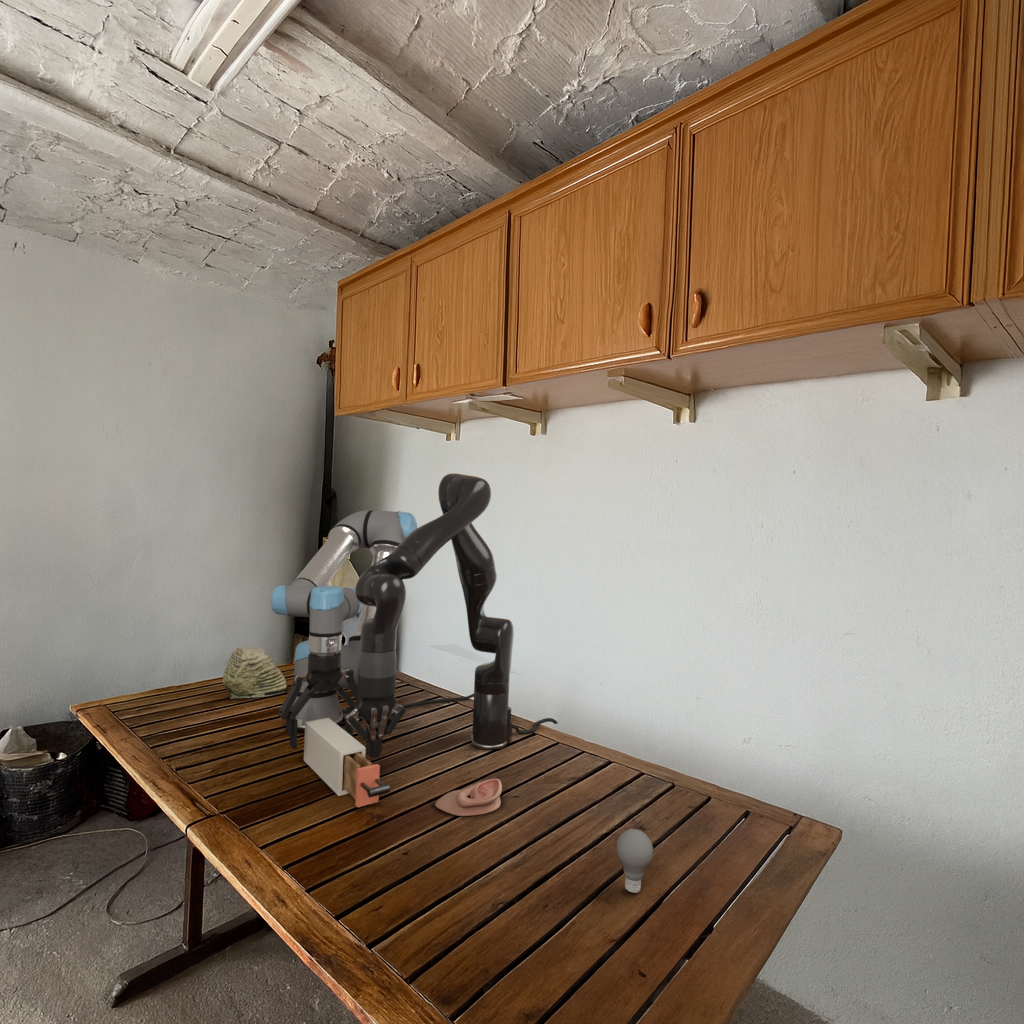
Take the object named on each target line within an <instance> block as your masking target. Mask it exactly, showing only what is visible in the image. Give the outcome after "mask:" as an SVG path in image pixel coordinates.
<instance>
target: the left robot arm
mask: <svg viewBox="0 0 1024 1024" xmlns="http://www.w3.org/2000/svg"><path fill="white" fill-rule="evenodd" d="M417 528H418V522H417V520H416V517H415V515H414V514H413V513H411V512H405V511H400V510H398V511H392V510H391V511H390V510H389V511H388V510H371V509H364V510H359V511H357V512H354V513H352V514H349V515H348V516H346V517H344V518H343V519H341V520H340V521H338V522H337V523H336V524H335V525H334V526H333V527H332V528H331V530H330V531H329V532H328V535H327V540H326V541H325V543H324V544H323V545H322V546H321V547H320V548H319V550H318V551H317V552H316V553H315V555H314V556H313V557H312V558H311V559H310V561H309V562H307V564H306V565H305V567H304V568H303V569H302V570H301V572H300V573H299V574H298V576H296V578H295V579H294V580H293V581H292V582H291V583H290V585H288V584H284V585H278V586H276V587H275V588H274V589H273V591H272V593H271V596H270V606H271V610H272V611H273V613H274V614H276V615H280V616H287V617H299V618H300V617H301V618H309V632H308V639H307V640H304V641H302V642H299V643H298V644H297V645H296V647H295V652H294V653H295V654H294V659H293V661H294V672H293V679H292V685H291V687H290V689H289V690H288V692H287V694H286V697H285V699H284V701H283V703H282V704H281V707H280V708H279V711H278V713H277V716H278V717H279V718H280V719H282V720H285V732H286V733H287V734H288V735H289V746H290V748H292V750H296V749H297V748H298V732H301V733H305V722H308V721H313V720H319V719H324V718H329V719H331V720H332V721H333V722H334V723H336V724H337V725H338V726H340V725H342V723H343V722H344V714H347V713H348V714H350V713H351V712H352V711H353V710H354V709H355V704H356V702H357V699H358V696H357V688H358V663H359V656H360V645H361V628H362V624H363V623H364V622H365V621H366V620H368V619H372V618H374V616H375V612H376V607H373V606H368V605H365V604H363V603H361V602H360V601H359V600H358V599H357V597H356V594H355V588H354V587H341V586H338V585H328V584H329V583H330V581H331V580H332V578H333V577H334V576H335V575H336V573H337V572H338V570H340V568H341V567H342V565H343V564H344V562H345V561H346V560H347V558H348V557H349V556H350V555H352V554H354V553H355V552H357V551H358V550H359V549H366V548H367V549H369V552H370V553H371V555H372V561H371V566H372V565H374V564H375V563H377V562H378V561H380V560H381V559H383V558H384V557H386V556H388V555H389V554H391V553H392V552H393V551H394V550H395V549H396V547H397V546H398V545H399V544H400V543H401V542H402V541H403V540H404V539H405V538H406V537H407V536H408V535H409V534H410V533H411V532H413V531H414V530H415V529H417ZM371 566H370V567H371ZM358 614H359V618H358V622H357V626H356V631H355V633H353V634H351V635H350V636H348V641H347V644H343V622H344V621H348V620H349V619H351V618H352V619H353V618H354V617H355V616H357V615H358ZM346 690H350V691H351V694H352V696H353V698H354V699H353V698H352V697H351V696H350V695H349V693H347V692H346ZM339 696H340V698H342V700H344V701H345V703H346V704H347V705H348V707H345V709H342V706H341V702H340V699H339ZM472 698H474V693H472V694H469V695H467V696H459V697H447V698H446V697H445V698H437V699H427V700H421V701H416V702H411V703H405V704H402V705H401V704H400V705H401V706H402V707H404V708H405V709H406V708H410V707H414V706H420V705H427V704H434V703H443V702H452V701H453V702H454V701H464V700H470V699H472ZM344 724H345V726H344V728H345V729H344V730H345V731H346V732H347V733H348V734H350V735H351V736H352V737H353V734H354V729H353V728H352V727H351V726H350V725H349V723H348V722H347V721H346V720H345V723H344Z"/></svg>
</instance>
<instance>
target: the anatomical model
mask: <svg viewBox="0 0 1024 1024" xmlns="http://www.w3.org/2000/svg"><path fill="white" fill-rule="evenodd" d="M502 791H503V784H502V780H500V779H499V778H491V779H490V778H489V779H485V780H483V781H480V782H477V783H474V784H471V785H470V786H467V787H465V788H463V789H457V790H452V791H449V792H447V793H446V794H443V795H442V796H441V797H440V798H438V799H436V801H435V802H434V807H436V808H437V809H439V810H441V811H443V812H445V813H447V814H451V815H453V816H458V817H469V816H479V815H484V814H487V813H491V812H494V811H496V810H497V809H499V808H500V807H501V803H502V801H501V800H502V799H501V797H500V796H501V794H502Z"/></svg>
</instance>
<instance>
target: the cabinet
mask: <svg viewBox="0 0 1024 1024" xmlns="http://www.w3.org/2000/svg"><path fill="white" fill-rule="evenodd" d="M357 752H359V753H360V754H361V755H363V756H364V757H365V758H366V745H365V746H364V744H362V743H361V742H360V741H359V740H357V739H356V738H354V737H353V736H351V735H350V734H348V733H347V732H346V731H345V729H343V728H342V727H341V726H340V725H339V726H338V725H337V724H336V723H334V722H333V721H332V720H331V719H329V718H324V719H319V720H313V721H308V722H305V732H304V742H303V762H305V763H306V764H307V766H308V767H309V768H310V769H311V770H312V771H313V772H314V773H315V774H316V775H318V777H319V778H320V779H321V780H322V781H323V782H324V783H325V784H326V785H327V786H328V787H329V788H330V789H331V790H332V791H333V792H334V793H335V795H336V796H338V797H340V796H344V795H348V794H349V793H348V792H347V791H346V790H345V789H344V788H343V787H342V779H343V755H348V754H353V753H357ZM349 795H350V794H349Z"/></svg>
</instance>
